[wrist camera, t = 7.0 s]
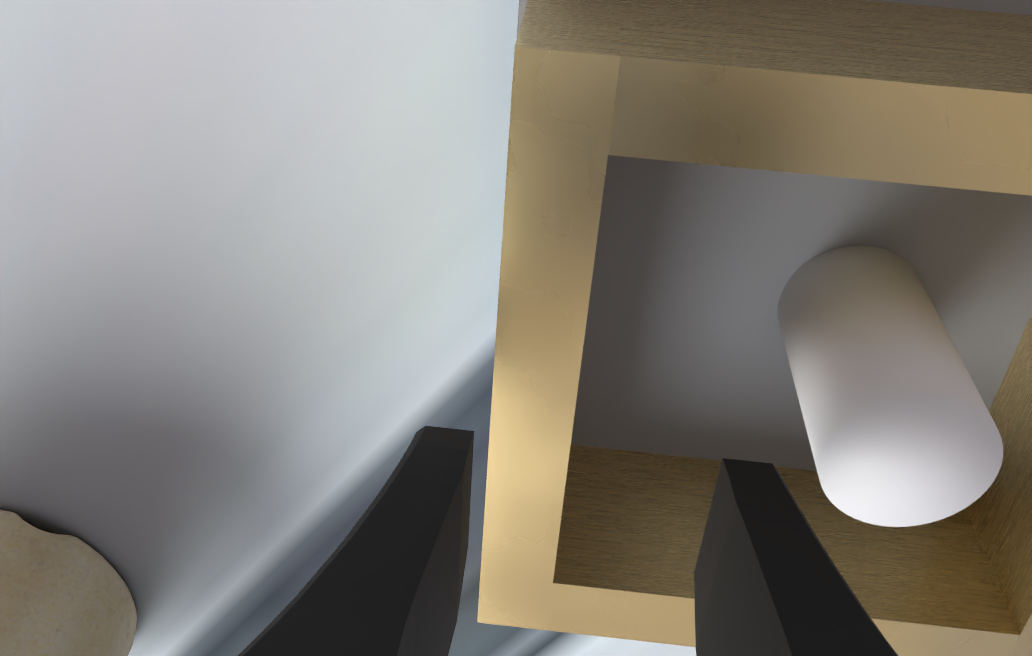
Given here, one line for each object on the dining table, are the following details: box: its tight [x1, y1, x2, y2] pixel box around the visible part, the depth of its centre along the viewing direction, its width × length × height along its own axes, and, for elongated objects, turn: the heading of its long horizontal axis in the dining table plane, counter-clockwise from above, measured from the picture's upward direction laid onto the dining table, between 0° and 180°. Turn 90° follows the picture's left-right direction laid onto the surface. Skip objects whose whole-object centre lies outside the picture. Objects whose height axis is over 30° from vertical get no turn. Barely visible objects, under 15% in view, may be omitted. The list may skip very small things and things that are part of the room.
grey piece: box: [517, 0, 1032, 527], centre depth 15 cm, size 14×12×6 cm
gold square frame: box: [477, 0, 1032, 656], centre depth 15 cm, size 10×10×4 cm
